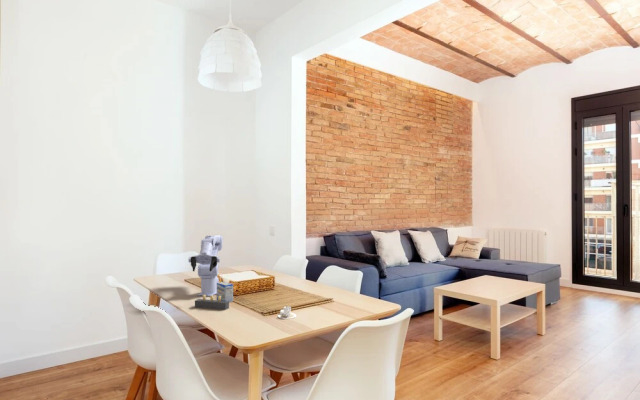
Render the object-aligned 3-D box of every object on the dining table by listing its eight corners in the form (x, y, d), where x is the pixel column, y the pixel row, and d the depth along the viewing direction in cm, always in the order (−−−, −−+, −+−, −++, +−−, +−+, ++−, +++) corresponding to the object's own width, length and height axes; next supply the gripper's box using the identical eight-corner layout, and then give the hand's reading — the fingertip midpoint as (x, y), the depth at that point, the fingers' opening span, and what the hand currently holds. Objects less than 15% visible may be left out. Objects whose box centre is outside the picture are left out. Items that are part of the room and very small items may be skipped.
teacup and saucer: (279, 313, 169) (279, 304, 169) (297, 313, 168) (297, 304, 168) (276, 319, 160) (276, 310, 160) (295, 319, 160) (295, 310, 159)
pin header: (198, 305, 181) (198, 293, 180) (229, 307, 176) (228, 295, 176) (194, 307, 178) (194, 295, 178) (225, 309, 173) (225, 297, 173)
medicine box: (216, 300, 189) (216, 282, 189) (224, 298, 192) (224, 281, 192) (225, 303, 184) (225, 285, 183) (233, 301, 187) (233, 283, 187)
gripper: (190, 246, 190) (185, 262, 178) (220, 247, 192) (217, 262, 180) (190, 258, 193) (186, 275, 181) (220, 258, 195) (218, 274, 183)
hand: (202, 269), depth 181 cm, fingers open, 7 cm apart
